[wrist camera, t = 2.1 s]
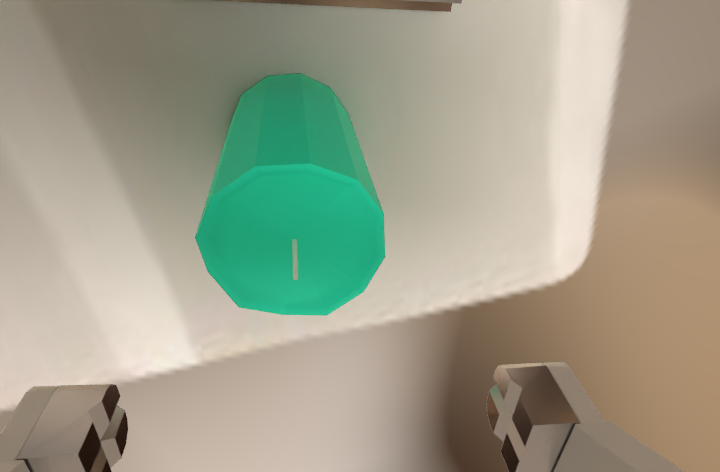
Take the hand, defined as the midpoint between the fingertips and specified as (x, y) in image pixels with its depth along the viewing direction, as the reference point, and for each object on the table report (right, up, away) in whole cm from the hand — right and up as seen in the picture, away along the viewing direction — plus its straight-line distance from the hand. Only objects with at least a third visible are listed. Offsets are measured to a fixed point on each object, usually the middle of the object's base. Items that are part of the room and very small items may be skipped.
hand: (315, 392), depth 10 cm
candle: (-3, +9, +13) cm, 16 cm away
